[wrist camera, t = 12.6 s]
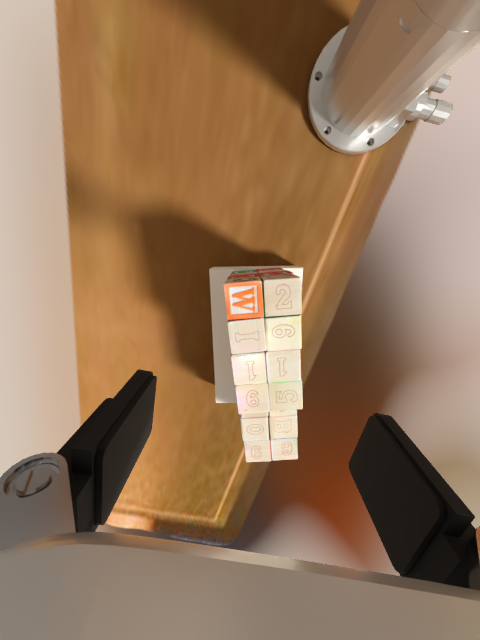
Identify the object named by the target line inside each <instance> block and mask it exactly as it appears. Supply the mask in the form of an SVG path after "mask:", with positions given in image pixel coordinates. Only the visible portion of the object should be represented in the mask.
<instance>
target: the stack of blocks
mask: <svg viewBox="0 0 480 640" xmlns="http://www.w3.org/2000/svg"><path fill="white" fill-rule="evenodd" d="M223 285H224V295H225V303H226V312H227V319H228V321H227V326H228V333H229V340H230V348H231V364H232V371H233V378H234V384H235V391H236V398H237V406H238V413H239V414H241V416H240V420H241V431H242V439H243V441H244V448H245V458H246V462H259V461H271V460H286V459H287V460H288V459H298V446H297V445H298V444H297V437H298V434H297V433H298V432H297V409H303V398H302V380H301V355H300V349H301V347H302V337H301V315H300V314H301V312H302V284H301V278H300V277H299V276H296V275H293V272H291V271H288V270H284V269H282V268H280V267H279V268H266V269H257V270H246V271H233V272H232V273H231V275H230V276H229V277H228V278H227V281H226V282H225V283H224V284H223Z"/></svg>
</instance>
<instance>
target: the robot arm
mask: <svg viewBox="0 0 480 640" xmlns="http://www.w3.org/2000/svg"><path fill="white" fill-rule="evenodd" d="M479 43H480V0H360V1H359V3H358V6H357V8H356V10H355V12H354V14H353V16H352V18H351V21H350V23H349V25H347V26H346V27H344V28H342V29H341V30H340V31H339V32H338V33H336V34H335V35H334V36H333V37H332V38H331V39H330V40H329V42H328V43H327V44H326V45H325V47H324V48H323V50H322V52H321V53H320V55H319V57H318V59H317V61H316V63H315V66H314V68H313V71H312V74H311V78H310V81H309V87H308V94H307V100H308V112H309V117H310V120H311V123H312V126H313V128H314V130H315V132H316V133H317V135H318V137H319V138H320V139H321V140H322V141H323V142H324V143H325V144H326V145H327V146H328V147H330V148H331V149H333V150H335V151H337V152H340V153H343V154H349V155H355V154H363V153H366V152H370V151H372V150H374V149H376V148H378V147H380V146H381V145H382V144H384V143H385V142H387V141H388V140H389V139H390V138H391V137H392V136H394V135H395V134H396V133H397V132H398V130H399V129H400V128H401V127H402V125H403V124H404V123H405V121H406V120H408V121H413V120H414V119H415V118H418V119H422V120H424V121H426V122H429V123H433V124H437V125H440V124H442V123H443V122H444V121H445V120H446V119H447V117H448V116H449V114H450V112H451V110H452V108H453V104H452V103H449V102H446V101H442V100H439V99H436V100H434V99H431V98H427V97H428V93H427V92H425V91H426V90H427V89H429V90H430V91H434V92H438V93H442V92H443V91H444V90H445V89H446V88H447V86H448V85H449V82H450V80H451V76H449V75H445V73H446V72H447V71H449V70H450V69H451V68H452V67H453V66H454V65H456V64H457V63H458V62H459V61H460V60H461V59H462V58H464V57H465V56H466V55H467V54H468V53H469V52H470V51H472V50H473V49H474V48H475V47H476V46H477V45H478V44H479ZM315 79H317V80H318V81H317V80H315ZM324 132H327V135H326V134H325V133H324ZM367 143H368V144H369V146H368V145H367ZM156 381H157V377H156V376H153V373H152V372H150V371H144V370H137V371H136V373H135V374H134V375H133V376H132V377H131V378H130V380H129V381H128V382H127V383H126V384H125V385H124V387H123V388H122V389H121V390H120V391H119V392H118V394H117V395H116V396H115V397H114V398H107V399H106V400H104V401H103V402H102V404H101V405H100V406H99V407H98V408H97V409H96V410H95V411H94V412H93V414H92V415H91V416H90V417H89V418H88V419H87V420H86V421H85V422H84V424H83V425H82V426H81V427H80V428H79V429H78V430H77V431H76V432H75V434H74V435H73V436H72V437H71V438H70V439H69V440H68V441H67V442H66V444H65V445H64V446H63V447H62V448H61V449H60V450H59V451H58V452H57V453H41V454H37V455H33V456H30V457H28V458H26V459H23V460H21V461H20V462H18V463H16V464H15V465H13V466H12V467H11V468H10V469H8V470H7V471H6V472H5V473H4V474H3V475H2V476H1V478H0V640H480V526H479V527H478V528H476V529H475V528H474V527H473V526H472V524H471V522H472V521H473V519H474V518H475V516H474V515H473V514H472V513H471V511H470V510H469V509H468V508H467V506H466V505H465V504H464V503H463V502H462V500H461V499H460V498H459V497H458V496H457V494H456V493H455V492H454V491H453V490H452V488H451V487H450V486H449V485H448V484H447V482H446V481H445V480H444V479H443V478H442V476H441V475H440V474H439V473H438V472H437V470H436V469H435V468H434V467H433V466H432V465H431V463H430V462H429V461H428V460H427V458H426V457H425V456H424V455H423V454H422V453H421V452H420V450H419V449H418V448H417V447H416V445H415V444H414V443H413V442H412V441H411V439H410V438H409V437H408V436H407V435H406V433H404V431H403V430H402V429H401V427H400V426H399V425H398V424H397V423H396V421H395V420H394V419H393V418H392V417H391V416H389V415H383V414H378V413H376V414H374V415H373V416H370V417H369V419H368V421H367V423H366V426H365V428H364V430H363V433H362V434H361V437H360V439H359V441H358V443H357V446H356V448H355V450H354V452H353V455H352V457H351V459H350V462H349V469H350V472H351V474H352V477H353V479H354V481H355V483H356V485H357V488H358V490H359V492H360V494H361V496H362V499H363V501H364V503H365V505H366V508H367V510H368V512H369V514H370V516H371V518H372V521H373V523H374V525H375V527H376V529H377V532H378V534H379V536H380V538H381V541H382V543H383V545H384V547H385V550H386V552H387V554H388V556H389V558H390V560H391V563H392V565H393V567H394V568H395V570H396V571H397V572H399V573H400V576H395V575H389V574H383V573H376V572H371V571H364V570H359V569H353V568H347V567H340V566H334V565H328V564H322V563H315V562H309V561H303V560H296V559H290V558H284V557H277V556H272V555H265V554H259V553H252V552H246V551H239V550H233V549H226V548H220V547H213V546H207V545H200V544H194V543H187V542H181V541H174V540H165V539H158V538H151V537H142V536H135V535H128V534H117V533H104V532H95V530H96V529H97V527H98V525H104V524H105V522H106V521H107V519H108V517H109V515H110V513H111V511H112V509H113V507H114V505H115V503H116V501H117V499H118V497H119V495H120V493H121V491H122V489H123V487H124V485H125V483H126V481H127V479H128V477H129V475H130V473H131V471H132V469H133V467H134V465H135V463H136V461H137V459H138V457H139V455H140V453H141V451H142V449H143V447H144V445H145V443H146V441H147V439H148V437H149V435H150V433H151V429H152V422H153V412H154V401H155V391H156Z"/></svg>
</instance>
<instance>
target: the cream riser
mask: <svg viewBox="0 0 480 640" xmlns="http://www.w3.org/2000/svg"><path fill="white" fill-rule="evenodd" d="M279 267H280V268H282V269H284V270H288V271H291V272H293V275H296V276H299V277H300V278H301V284H302V277H303V268H302V267H298V266H234V267H212V268H210V269H209V275H210V295H211V314H212V334H213V354H214V373H215V393H216V403H237V398H236V391H235V384H234V378H233V371H232V364H231V348H230V340H229V333H228V326H227V321H228V319H227V312H226V303H225V295H224V285H223V284H224V283H225V282H226V281H227V278H228V277H229V276H230V275H231V273H232V272H233V271H246V270H257V269H266V268H279Z"/></svg>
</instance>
